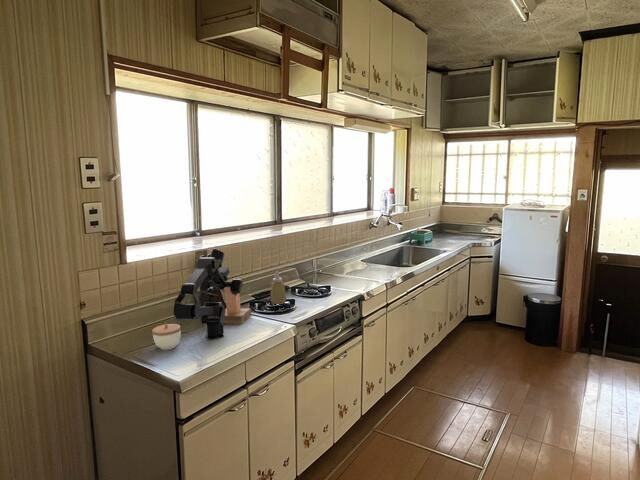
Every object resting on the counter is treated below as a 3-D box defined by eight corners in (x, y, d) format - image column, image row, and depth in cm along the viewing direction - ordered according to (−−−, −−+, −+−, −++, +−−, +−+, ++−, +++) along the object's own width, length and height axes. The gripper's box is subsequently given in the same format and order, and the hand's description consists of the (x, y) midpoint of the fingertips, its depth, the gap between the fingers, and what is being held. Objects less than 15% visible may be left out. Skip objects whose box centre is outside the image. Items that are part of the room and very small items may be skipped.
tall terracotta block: (237, 313, 202) (234, 286, 200) (226, 313, 203) (224, 286, 201) (240, 310, 207) (238, 283, 205) (230, 310, 208) (228, 283, 206)
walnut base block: (241, 324, 198) (241, 316, 198) (217, 324, 201) (216, 315, 200) (251, 316, 210) (250, 308, 209) (228, 315, 212) (227, 307, 212)
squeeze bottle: (279, 302, 230) (278, 269, 227) (289, 305, 224) (288, 271, 222) (267, 305, 224) (265, 271, 222) (277, 308, 219) (275, 274, 216)
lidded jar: (167, 340, 181) (165, 318, 180) (187, 343, 177) (185, 321, 176) (147, 350, 171) (145, 327, 170) (169, 353, 167) (167, 330, 166)
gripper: (240, 261, 188) (250, 280, 200) (200, 261, 192) (213, 279, 204) (233, 283, 182) (245, 301, 194) (193, 282, 185) (206, 300, 198)
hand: (227, 295), depth 198 cm, fingers open, 9 cm apart
